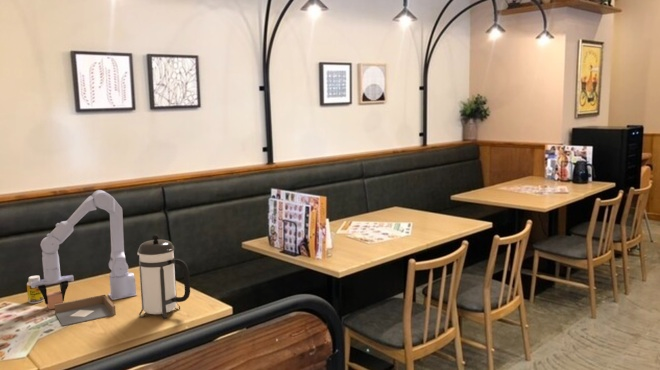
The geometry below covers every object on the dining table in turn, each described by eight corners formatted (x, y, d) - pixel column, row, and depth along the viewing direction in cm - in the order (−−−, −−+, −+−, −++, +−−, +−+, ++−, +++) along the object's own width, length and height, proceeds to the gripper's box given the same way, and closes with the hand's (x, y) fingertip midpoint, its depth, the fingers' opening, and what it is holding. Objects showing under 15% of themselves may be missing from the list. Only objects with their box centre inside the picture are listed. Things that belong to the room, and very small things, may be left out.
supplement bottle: (29, 305, 213) (26, 279, 212) (27, 301, 218) (25, 276, 217) (44, 302, 216) (42, 277, 215) (43, 298, 221) (41, 273, 220)
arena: (105, 302, 214) (104, 294, 214) (115, 314, 201) (115, 306, 201) (55, 313, 204) (54, 304, 204) (62, 326, 191) (61, 317, 191)
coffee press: (142, 324, 192) (137, 241, 188) (136, 310, 206) (131, 232, 202) (192, 315, 199) (187, 235, 195) (182, 302, 214) (178, 227, 209)
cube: (61, 303, 214) (59, 290, 213) (63, 306, 210) (62, 294, 209) (46, 305, 211) (45, 293, 210) (48, 309, 207) (47, 296, 206)
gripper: (70, 262, 216) (73, 295, 217) (28, 269, 207) (32, 303, 209) (73, 266, 210) (76, 300, 212) (31, 273, 202) (34, 308, 203)
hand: (54, 302), depth 210 cm, fingers closed on cube, 5 cm apart
